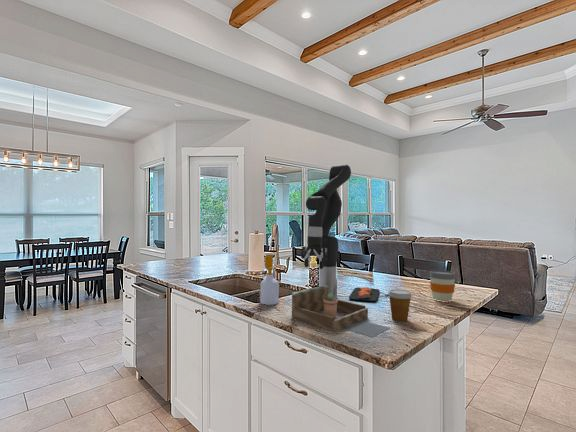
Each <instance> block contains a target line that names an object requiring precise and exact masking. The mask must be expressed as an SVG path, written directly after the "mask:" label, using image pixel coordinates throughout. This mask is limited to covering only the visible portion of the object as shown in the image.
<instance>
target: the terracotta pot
mask: <svg viewBox="0 0 576 432" xmlns="http://www.w3.org/2000/svg"><path fill="white" fill-rule="evenodd" d="M338 300H339V299H338V298H337V297H336V298H334V296H333V294H331V293H330V294H328V295H327V298H324V299H323V303H324V309H323V314H325V315H328V316H332V317H335V319H338V318H337V317H338V316H337V315H338V311H337V303H338Z"/></svg>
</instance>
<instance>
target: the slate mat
mask: <svg viewBox="0 0 576 432" xmlns="http://www.w3.org/2000/svg"><path fill="white" fill-rule="evenodd" d="M389 329H391V327H390V326H385V325H382V324H378V323H374V322H370V321H366V320H361V321H359V322H357V323H354V324H352V325H350V326H348V327H345V328H344V330H347V331H350V332H354V333H355V334H356V333H357V334H358V335H359V334H360V335H363V336H367V337H371V338H375V337H376V336H378V335H380V334H382V333H384V332H386V331H387V330H389Z"/></svg>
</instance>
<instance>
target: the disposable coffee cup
mask: <svg viewBox="0 0 576 432" xmlns="http://www.w3.org/2000/svg"><path fill="white" fill-rule="evenodd" d="M388 294H389V296H388V298H389V302H390V303H389V305H390V313H391V319H392V320H393V321H395V322H399V323H400V322H402V323H404V322H408V319H409V312H410V311H409V310H410V305H411V298H412V292H411V291H409V290H406V289H400V288H399V289H397V288H394V289H390V290H389V292H388ZM388 294H387V295H388Z"/></svg>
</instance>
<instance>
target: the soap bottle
mask: <svg viewBox="0 0 576 432" xmlns="http://www.w3.org/2000/svg"><path fill="white" fill-rule="evenodd" d="M274 256H275V253H274V254H265V256H264V268H265V269H266V270H267V272H266V277H265V278H264V279H262V280H261V282H260V292H259V293H260V299H259V300H260V304H262V305H264V304H265V306H272V305H273V306H274V305H277V304H279V292H280V291H279V290H280V289H279V287H280V284H279V281H278V280H277V279H275V278H274V272H272V271H273V270H275V269H276V268H275V267H274Z"/></svg>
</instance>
